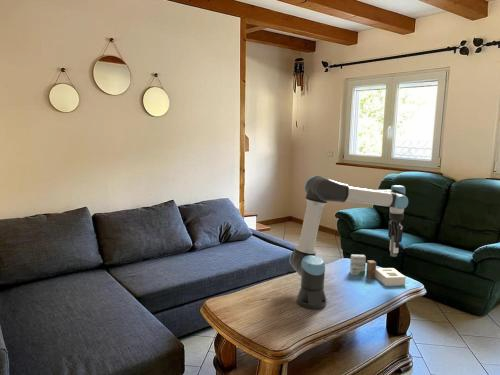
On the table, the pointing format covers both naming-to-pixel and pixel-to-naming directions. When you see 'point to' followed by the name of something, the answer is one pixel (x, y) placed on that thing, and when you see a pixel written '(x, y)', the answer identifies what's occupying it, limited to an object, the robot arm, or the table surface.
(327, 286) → the table surface
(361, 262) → the ink box
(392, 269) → the socket block
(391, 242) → the round peg
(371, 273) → the walnut square bar
